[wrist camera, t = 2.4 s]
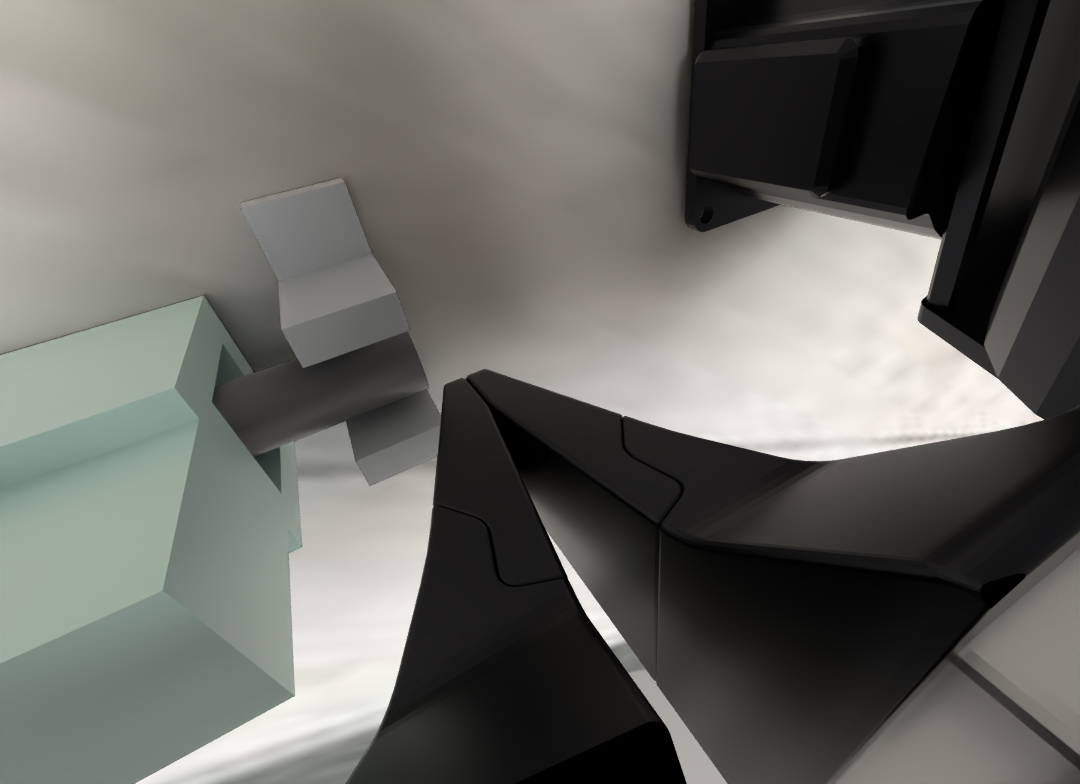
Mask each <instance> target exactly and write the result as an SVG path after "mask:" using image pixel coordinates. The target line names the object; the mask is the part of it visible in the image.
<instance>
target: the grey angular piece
mask: <svg viewBox="0 0 1080 784" xmlns="http://www.w3.org/2000/svg"><path fill="white" fill-rule="evenodd" d="M240 210H241V212H242V214H243V216H244V217H245V219H246V221H247V223H248V225H249V227H250V229H251V231H252V233H253V234H254V236H255V238H256V240H257V242H258V244H259V246H260V248H261V249H262V251H263V253H264V255H265V257H266V259H267V261H268V263H269V265H270V266H271V268H272V270H273V272H274V274H275V276H276V278H277V280H278V282H279V301H280V320H281V330H282V332H283V334H284V336H285V338H286V339H287V341H288V343H289V345H290V346H291V348H292V350H293V352H294V353H295V355H296V357H297V358H295V359H292V360H289V361H286V362H283V363H280V364H278V365H275V366H272V367H269V368H266V369H263V370H260V371H257V372H254V373H252V374H249V375H246V376H243V377H240V378H237V379H234V380H231V381H229V382H226V383H223V384H220V385H217V386H215V387H214V392H213V398H212V403H213V404H214V406H215V407H216V408H217V410H218V411H219V412H220V414H221V415H222V416H223V418H224V419H225V420H226V422H227V423H228V424H229V425H230V427H231V428H232V429H233V431H234V432H235V433H236V435H237V436H238V437H239V439H240V440H241V441H242V443H243V444H244V445H245V447H246V448H247V449H248V451H249V452H250V453H251V454H252V456H253V457H255V456H258V455H260V454H263V453H265V452H268V451H271V450H273V449H276V448H278V447H281V446H283V445H286V444H288V443H291V442H293V441H296V440H298V439H301V438H303V437H306V436H308V435H311V434H313V433H316V432H319V431H321V430H324V429H326V428H329V427H331V426H334V425H336V424H339V423H341V422H344V421H346V423H347V427H348V431H349V435H350V440H351V444H352V448H353V452H354V456H355V461H356V463H357V464H358V466H359V468H360V470H361V471H362V473H363V475H364V477H365V479H366V480H367V482H368V484H369V486H371V485H373V484H375V483H378V482H380V481H382V480H384V479H387V478H389V477H391V476H393V475H396V474H398V473H400V472H402V471H405V470H407V469H409V468H412V467H414V466H416V465H418V464H421V463H423V462H425V461H427V460H430V459H432V458H434V457H436V456H438V445H439V434H440V423H441V415H440V413H439V411H438V409H437V408H436V406H435V404H434V402H433V400H432V398H431V396H430V394H429V393H428V391H427V388H429V385H428V381H427V378H426V375H425V372H424V370H423V367H422V365H421V362H420V360H419V357H418V355H417V352H416V350H415V348H414V345H413V343H412V341H411V338H410V336H409V334H408V332H407V331H410V327H409V324H408V322H407V319H406V316H405V313H404V311H403V308H402V305H401V303H400V300H399V297H398V294H397V292H396V290H395V289H394V287H393V285H392V284H391V282H390V281H389V279H388V278H387V276H386V275H385V273H384V271H383V270H382V268H381V267H380V265H379V264H378V262H377V261H376V259H375V257H374V256H373V254H372V252H371V250H370V247H369V244H368V242H367V239H366V237H365V234H364V231H363V229H362V226H361V223H360V221H359V218H358V216H357V213H356V210H355V208H354V205H353V203H352V200H351V197H350V195H349V192H348V189H347V187H346V184H345V182H344V181H343V179H342V178H338V179H334V180H330V181H326V182H322V183H318V184H314V185H310V186H306V187H302V188H298V189H294V190H290V191H286V192H282V193H277V194H273V195H269V196H265V197H261V198H257V199H253V200H249V201H245V202H241V204H240Z"/></svg>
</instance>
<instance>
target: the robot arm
mask: <svg viewBox="0 0 1080 784" xmlns="http://www.w3.org/2000/svg"><path fill="white" fill-rule="evenodd" d="M781 204H782V205H786V206H791V207H796V208H800V209H805V210H809V211H814V212H818V213H823V214H828V215H832V216H837V217H841V218H846V219H850V220H855V221H860V222H864V223H869V224H873V225H878V226H882V227H887V228H892V229H896V230H901V231H905V232H910V233H914V234H919V235H924V236H928V237H933V238H937V239H942V241H941V245H940V249H939V253H938V256H937V260H936V264H935V268H934V272H933V276H932V280H931V284H930V288H929V292H928V296H926V297H925V298H924V299H923V300H922V301H921V305H920V310H919V314H918V321H919V322H920V323H921V324H922V325H924V326H925V327H926V328H928V329H929V330H931V331H932V332H933V333H935V334H936V335H938V336H939V337H940V338H942V339H943V340H945V341H946V342H947V343H949V344H950V345H952V346H953V347H954V348H956V349H957V350H959V351H960V352H961V353H963V354H964V355H965V356H967V357H968V358H970V359H971V360H972V361H974V362H975V363H977V364H978V365H979V366H981V367H982V368H984V369H985V370H986V371H988V372H989V373H991V374H992V375H993V376H995V377H996V378H998V379H999V380H1000V381H1001V382H1002V383H1003V384H1004V385H1005V386H1006V387H1007V388H1008V389H1010V390H1011V391H1012V392H1013V393H1014V394H1015V395H1016V396H1017V397H1018V398H1019V399H1020V400H1021V401H1022V402H1023V403H1024V404H1025V405H1026V406H1027V407H1028V408H1029V409H1030V410H1031V411H1032V412H1033V413H1034V414H1036V415H1037V416H1039V417H1041V418H1043V419H1044V420H1043V421H1039V422H1035V423H1031V424H1027V425H1024V426H1019V427H1015V428H1010V429H1005V430H1000V431H995V432H990V433H984V434H979V435H973V436H968V437H962V438H957V439H951V440H946V441H940V442H935V443H929V444H924V445H918V446H913V447H907V448H901V449H896V450H890V451H885V452H879V453H874V454H868V455H863V456H857V457H852V458H846V459H840V460H832V461H802V460H793V459H788V458H783V457H778V456H774V455H769V454H765V453H761V452H757V451H753V450H748V449H744V448H740V447H736V446H732V445H727V444H723V443H719V442H715V441H711V440H706V439H702V438H698V437H694V436H691V435H687V434H683V433H679V432H675V431H671V430H668V429H665V428H662V427H658V426H655V425H652V424H649V423H645V422H642V421H639V420H636V419H633V418H630V417H627V416H624V417H622V415H621V414H618V413H615V412H612V411H609V410H606V409H603V408H600V407H597V406H594V405H591V404H588V403H585V402H582V401H579V400H576V399H573V398H570V397H567V396H564V395H561V394H558V393H556V392H553V391H550V390H547V389H544V388H541V387H538V386H535V385H532V384H529V383H526V382H523V381H520V380H517V379H514V378H511V377H508V376H505V375H502V374H499V373H496V372H493V371H490V370H487V369H483V370H480V371H478V372H475V373H473V374H470V375H468V376H467V377H466V379H465V378H460V379H458V380H455V381H453V382H450V383H448V384H446V385H445V386H444V391H443V402H442V412H441V423H440V434H439V445H438V456H437V466H436V477H435V488H434V499H433V506H434V507H433V509H432V518H431V528H430V535H429V542H428V550H427V556H426V560H425V565H424V570H423V574H422V579H421V584H420V588H419V592H418V596H417V600H416V604H415V608H414V612H413V616H412V620H411V624H410V628H409V632H408V636H407V640H406V644H405V648H404V652H403V656H402V660H401V664H400V668H399V672H398V676H397V680H396V683H395V687H394V691H393V694H392V697H391V700H390V703H389V706H388V708H387V711H386V713H385V716H384V718H383V721H382V723H381V725H380V727H379V729H378V731H377V733H376V735H375V737H374V739H373V740H372V742H371V744H370V746H369V747H368V749H367V750H366V752H365V753H364V755H363V757H362V758H361V760H360V761H359V763H358V765H357V766H356V768H355V769H354V771H353V773H352V774H351V776H350V777H349V779H348V781H347V782H346V784H687V783H686V780H685V777H684V774H683V771H682V768H681V765H680V762H679V760H678V756H677V753H676V750H675V747H674V744H673V741H672V738H671V735H670V732H669V730H668V728H667V727H666V726H665V724H664V722H663V721H662V720H661V718H660V717H659V716H658V714H657V713H656V711H655V710H654V709H653V707H652V706H651V704H650V703H649V702H648V700H647V699H646V698H645V696H644V695H643V693H642V692H641V690H640V689H639V688H638V687H637V685H636V683H635V682H634V681H633V679H632V678H631V677H630V675H629V674H628V672H627V671H626V670H625V668H624V667H623V665H622V664H621V663H620V661H619V660H618V658H617V657H616V656H615V654H614V653H613V651H612V650H611V649H610V647H609V646H608V644H607V643H606V642H605V640H604V639H603V638H602V636H601V635H600V633H599V632H598V631H597V629H596V628H595V626H594V625H593V624H592V622H591V621H590V619H589V618H588V616H587V615H586V613H585V611H584V609H583V608H582V606H581V604H580V602H579V600H578V598H577V596H576V594H575V592H574V590H573V588H572V586H571V584H570V582H569V581H568V577H567V575H566V573H565V570H564V568H563V566H562V564H561V562H560V560H559V557H558V555H557V553H556V551H555V549H554V547H553V544H552V542H551V540H550V538H549V536H548V534H547V532H548V533H549V535H550V536H551V537H552V539H553V540H554V542H555V543H556V544H557V546H558V547H559V549H560V550H561V551H562V553H563V554H564V556H565V557H566V558H567V560H568V561H569V562H570V564H571V565H572V567H573V568H574V569H575V571H576V572H577V574H578V575H579V576H580V578H581V579H582V581H583V582H584V583H585V585H586V586H587V588H588V589H589V590H590V592H591V593H592V595H593V596H594V597H595V599H596V600H597V602H598V603H599V604H600V606H601V607H602V609H603V610H604V611H605V613H606V614H607V616H608V617H609V618H610V620H611V621H612V623H613V624H614V625H615V627H616V628H617V630H618V631H619V632H620V634H621V635H622V636H623V638H624V639H625V641H626V642H627V643H628V645H629V646H630V648H631V649H632V650H633V652H634V653H635V655H636V656H637V657H638V659H639V660H640V662H641V663H642V664H643V666H644V667H645V669H646V670H647V671H648V673H649V674H650V676H651V677H652V678H653V680H655V681H656V683H657V686H658V687H659V688H660V690H661V691H662V693H663V694H664V695H665V697H666V698H667V700H668V701H669V702H670V704H671V705H672V706H673V708H674V709H675V711H676V712H677V714H678V715H679V716H680V718H681V719H682V721H683V722H684V723H685V725H686V726H687V728H688V729H689V730H690V732H691V733H692V734H693V736H694V737H695V739H696V740H697V741H698V743H699V744H700V746H701V747H702V748H703V750H704V751H705V753H706V754H707V755H708V757H709V758H710V760H711V761H712V762H713V764H714V765H715V767H716V768H717V769H718V771H719V772H720V774H721V775H722V776H723V778H724V779H725V781H726V782H727V783H728V784H1080V0H695V14H694V36H693V57H692V78H691V99H690V120H689V141H688V163H687V184H686V205H685V222H686V224H687V226H688V227H689V228H691V229H693V230H696V231H699V232H705V231H708V230H711V229H714V228H717V227H719V226H722V225H725V224H728V223H731V222H733V221H736V220H739V219H742V218H745V217H747V216H750V215H753V214H756V213H758V212H761V211H764V210H767V209H770V208H772V207H775V206H778V205H781ZM703 210H704V213H703V216H702V217H701V219H700V216H701V213H702V211H703ZM546 530H547V531H546Z"/></svg>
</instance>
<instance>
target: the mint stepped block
mask: <svg viewBox="0 0 1080 784" xmlns="http://www.w3.org/2000/svg"><path fill="white" fill-rule="evenodd" d="M252 373H254V372H253V370H252V369H251V367H250V366H249V364H248V362H247V361H246V359H245V358H244V356H243V355H242V353H241V352H240V350H239V349H238V347H237V346H236V344H235V343H234V341H233V339H232V338H231V336H230V335H229V333H228V332H227V330H226V329H225V327H224V326H223V324H222V323H221V321H220V320H219V318H218V316H217V315H216V313H215V312H214V310H213V309H212V307H211V306H210V304H209V303H208V301H207V300H206V298H205V297H204V295H203V296H200V297H196V298H193V299H190V300H186V301H183V302H179V303H176V304H173V305H169V306H166V307H162V308H159V309H156V310H152V311H149V312H145V313H142V314H139V315H135V316H132V317H128V318H125V319H122V320H118V321H115V322H111V323H108V324H105V325H101V326H98V327H94V328H91V329H87V330H84V331H81V332H77V333H74V334H70V335H67V336H64V337H60V338H57V339H53V340H50V341H47V342H43V343H40V344H36V345H33V346H30V347H26V348H23V349H19V350H16V351H13V352H9V353H6V354H2V355H0V784H135V783H137V782H138V781H140V780H142V779H144V778H146V777H148V776H149V775H151V774H153V773H155V772H157V771H158V770H160V769H162V768H164V767H166V766H168V765H169V764H171V763H173V762H175V761H177V760H179V759H180V758H182V757H184V756H186V755H188V754H190V753H191V752H193V751H195V750H197V749H199V748H200V747H202V746H204V745H206V744H208V743H210V742H211V741H213V740H215V739H217V738H219V737H221V736H222V735H224V734H226V733H228V732H230V731H232V730H233V729H235V728H237V727H239V726H241V725H243V724H244V723H246V722H248V721H250V720H252V719H253V718H255V717H257V716H259V715H261V714H263V713H264V712H266V711H268V710H270V709H272V708H274V707H275V706H277V705H279V704H281V703H283V702H285V701H286V700H288V699H290V698H292V697H294V696H295V687H294V664H293V641H292V618H291V596H290V573H289V553H290V552H292V551H294V550H296V549H299V548H301V547H302V538H301V524H300V511H299V497H298V484H297V470H296V457H295V443H294V441H293V442H291V443H288V444H286V445H283V446H281V447H278V448H276V449H273V450H271V451H268V452H265V453H263V454H260V455H258V456H255V457H253V456H252V454H251V453H250V452H249V451H248V449H247V448H246V447H245V445H244V444H243V443H242V441H241V440H240V439H239V437H238V436H237V435H236V433H235V432H234V431H233V429H232V428H231V427H230V425H229V424H228V423H227V422H226V420H225V419H224V418H223V416H222V415H221V414H220V412H219V411H218V410H217V408H216V407H215V406H214V404H213V403H212V398H213V392H214V387H215V386H217V385H220V384H223V383H226V382H229V381H231V380H234V379H237V378H240V377H243V376H246V375H249V374H252Z"/></svg>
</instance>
